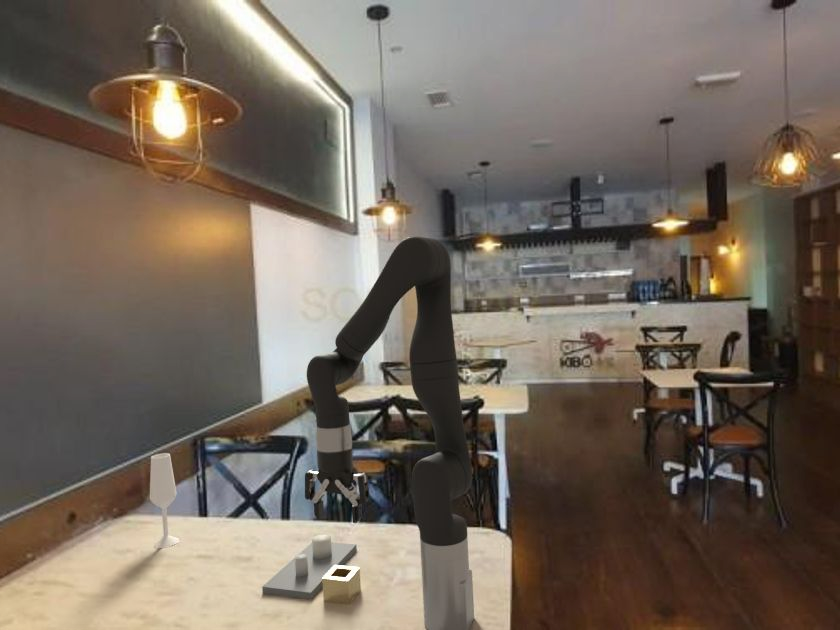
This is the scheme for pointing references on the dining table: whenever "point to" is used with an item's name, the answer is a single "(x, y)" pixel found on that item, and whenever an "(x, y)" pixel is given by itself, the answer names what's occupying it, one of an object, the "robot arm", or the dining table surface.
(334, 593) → the hollow square frame
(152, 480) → the champagne flute
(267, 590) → the stub plate
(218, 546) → the dining table surface
